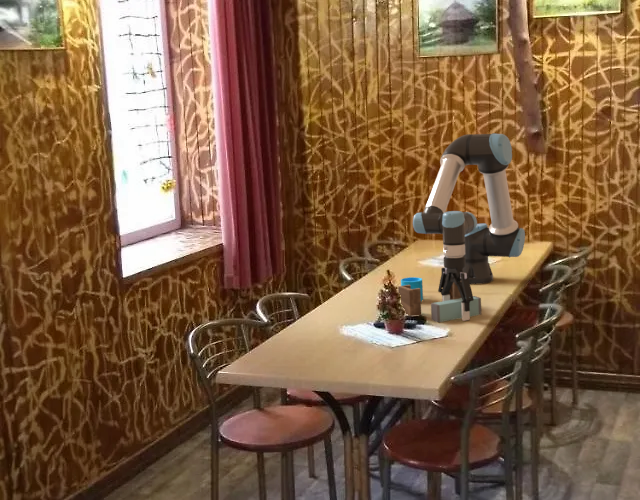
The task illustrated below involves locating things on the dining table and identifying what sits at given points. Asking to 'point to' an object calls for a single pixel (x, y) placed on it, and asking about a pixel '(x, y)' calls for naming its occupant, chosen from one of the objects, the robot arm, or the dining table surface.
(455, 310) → the rail
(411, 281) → the mug
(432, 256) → the dining table surface
